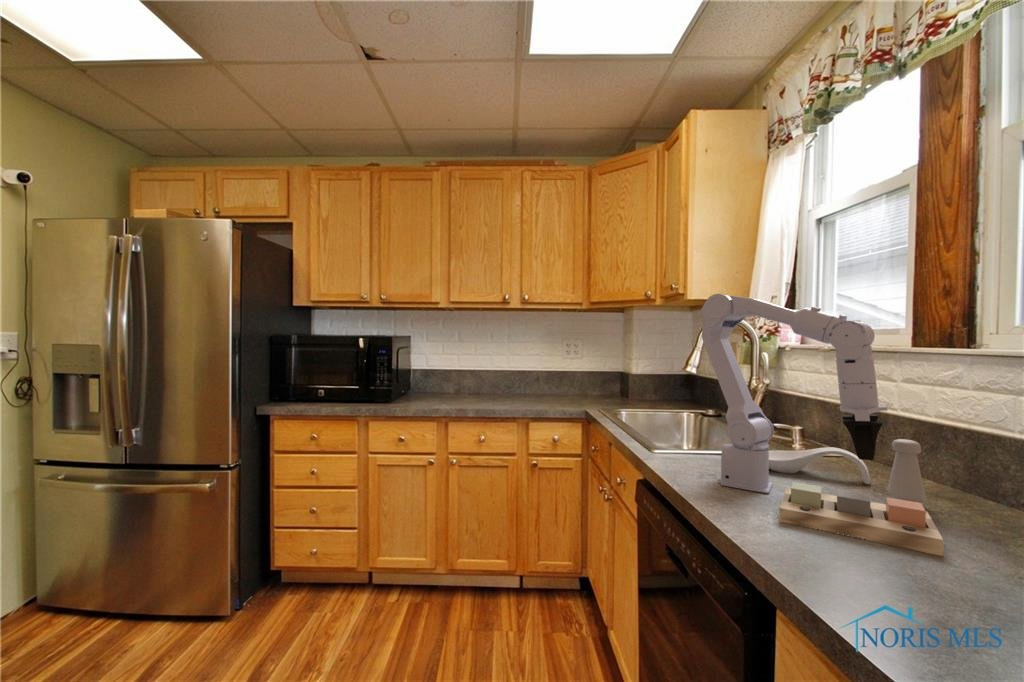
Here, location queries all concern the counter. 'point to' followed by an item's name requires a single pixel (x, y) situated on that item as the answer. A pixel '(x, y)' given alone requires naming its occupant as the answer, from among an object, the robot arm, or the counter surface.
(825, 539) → the counter surface
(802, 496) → the key sage
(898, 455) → the salt shaker
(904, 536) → the tan wooden slotted tray
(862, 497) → the key slate
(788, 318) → the robot arm
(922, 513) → the key terracotta
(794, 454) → the light grey curved piece
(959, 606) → the counter surface
